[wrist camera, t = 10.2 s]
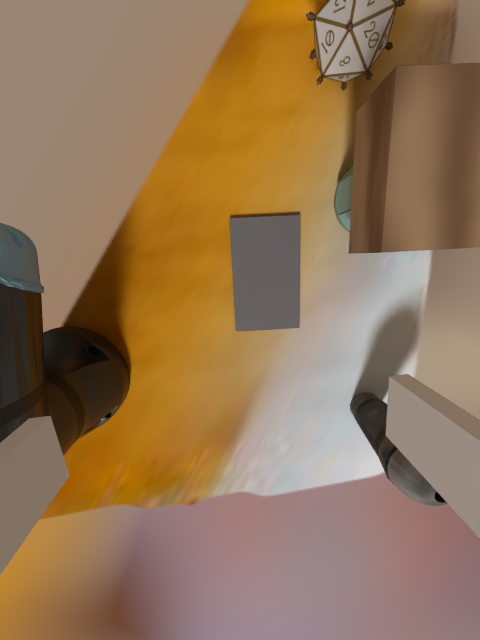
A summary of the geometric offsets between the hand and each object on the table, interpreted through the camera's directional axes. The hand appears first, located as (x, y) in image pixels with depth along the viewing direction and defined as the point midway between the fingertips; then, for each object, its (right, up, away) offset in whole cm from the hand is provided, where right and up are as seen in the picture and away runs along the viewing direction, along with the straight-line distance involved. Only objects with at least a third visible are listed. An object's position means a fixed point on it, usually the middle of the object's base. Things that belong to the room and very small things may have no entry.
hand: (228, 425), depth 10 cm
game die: (+11, +34, +19) cm, 40 cm away
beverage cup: (+20, -9, +30) cm, 37 cm away
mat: (+4, +10, +24) cm, 27 cm away
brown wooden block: (+17, +18, +16) cm, 29 cm away
